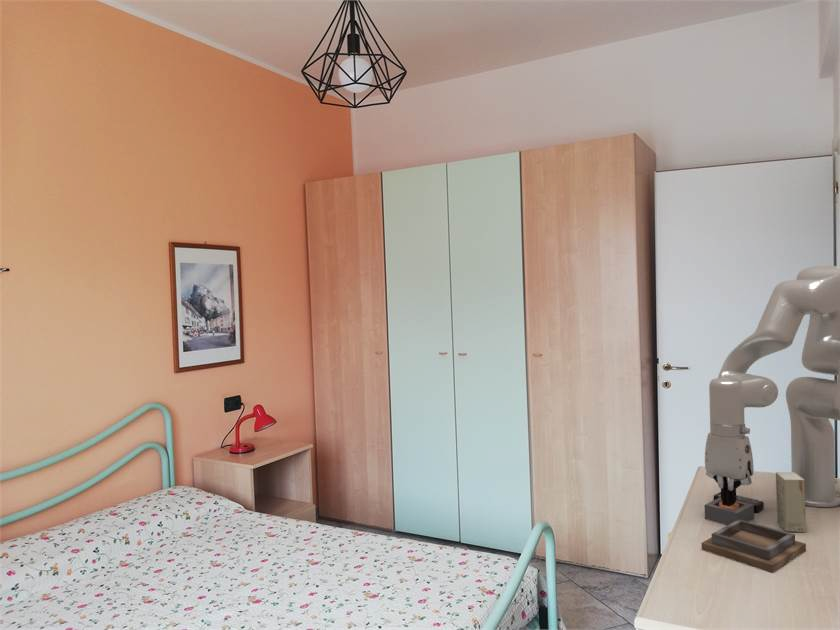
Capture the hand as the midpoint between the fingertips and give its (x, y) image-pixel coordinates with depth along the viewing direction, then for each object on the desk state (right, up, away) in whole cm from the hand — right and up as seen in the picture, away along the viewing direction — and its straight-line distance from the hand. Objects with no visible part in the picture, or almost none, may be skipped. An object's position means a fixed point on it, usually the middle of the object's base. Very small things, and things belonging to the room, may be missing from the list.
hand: (728, 504), depth 157 cm
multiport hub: (+6, -3, +8) cm, 11 cm away
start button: (0, -3, 0) cm, 2 cm away
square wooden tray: (-3, -5, -17) cm, 18 cm away
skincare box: (+11, -4, -6) cm, 14 cm away
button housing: (0, -4, 0) cm, 4 cm away
